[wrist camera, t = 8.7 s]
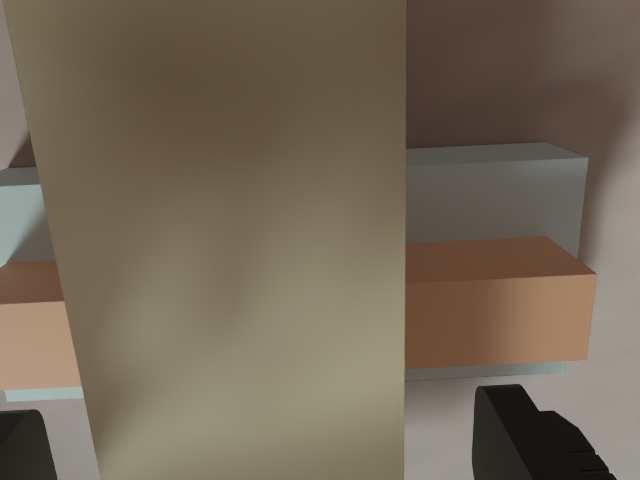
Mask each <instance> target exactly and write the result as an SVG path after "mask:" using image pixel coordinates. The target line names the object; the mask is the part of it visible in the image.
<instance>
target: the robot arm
mask: <svg viewBox="0 0 640 480" xmlns="http://www.w3.org/2000/svg"><path fill="white" fill-rule="evenodd" d="M472 467H473V474H474V479H475V480H617V479H616V478H615V477H614V475H613V474H610V473H609V469H608V467H607V466H606V465H605V463H604V462H603V460H602V459H601V458H600V456H599V455H596V454H595V450H594V448H593V447H592V446H591V444H590V443H589V442H588V440H587V439H586V438H585V436H584V435H583V434H582V432H581V431H580V430H579V428H577V427H576V426H575V425H573V424H572V423H570V422H569V421H567V420H566V419H565V418H563V417H562V416H560V415H559V414H558V413H556V412H555V411H539V410H538V409H537V407H536V406H535V404H534V403H533V401H532V400H531V398H530V397H529V395H528V394H527V392H526V391H525V389H524V388H523V387H522V386H521V385H520V384H510V385H492V386H479V387H477V389H476V393H475V405H474V425H473V444H472ZM0 480H57V475H56V471H55V466H54V462H53V458H52V454H51V450H50V445H49V441H48V437H47V433H46V428H45V424H44V420H43V417H42V415H41V413H40V412H39V411H38V410H35V409H31V410H13V411H0Z"/></svg>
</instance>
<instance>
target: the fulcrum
mask: <svg viewBox="0 0 640 480" xmlns="http://www.w3.org/2000/svg"><path fill="white" fill-rule="evenodd" d="M588 159H589V158H588V157H585V156H583V155H580V154H577V153H574V152H572V151H569V150H566V149H563V148H561V147H558V146H555V145H552V144H550V143H547V142H535V143H514V144H494V145H473V146H453V147H432V148H412V149H406V216H405V370H404V381H414V380H433V379H452V378H471V377H491V376H510V375H529V374H548V373H565V370H566V361H576V360H587V352H588V344H589V336H590V328H591V320H592V311H593V303H594V295H595V287H596V279H597V274H596V273H595V272H594V271H592V270H591V269H590V268H588V267H587V266H586V265H584V264H583V263H582V262H580V261H579V260H578V251H579V242H580V233H581V223H582V214H583V205H584V196H585V187H586V178H587V168H588ZM3 390H4V391H5V395H6V399H7V402H15V401H34V400H53V399H72V398H84V395H83V390H82V385H81V380H80V375H79V370H78V365H77V361H76V356H75V351H74V346H73V341H72V336H71V331H70V327H69V322H68V317H67V312H66V307H65V302H64V297H63V293H62V288H61V283H60V278H59V273H58V268H57V263H56V259H55V254H54V249H53V244H52V239H51V234H50V229H49V225H48V220H47V215H46V210H45V205H44V200H43V195H42V191H41V186H40V181H39V176H38V171H37V167H21V168H6V169H3V170H0V391H3Z"/></svg>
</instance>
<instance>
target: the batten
mask: <svg viewBox="0 0 640 480" xmlns="http://www.w3.org/2000/svg"><path fill="white" fill-rule="evenodd" d="M2 1H3V6H4V11H5V16H6V21H7V26H8V30H9V35H10V40H11V45H12V50H13V55H14V60H15V64H16V69H17V74H18V79H19V84H20V89H21V94H22V98H23V103H24V108H25V113H26V118H27V123H28V127H29V132H30V137H31V142H32V147H33V152H34V157H35V161H36V166H37V171H38V176H39V181H40V186H41V191H42V195H43V200H44V205H45V210H46V215H47V220H48V225H49V229H50V234H51V239H52V244H53V249H54V254H55V259H56V263H57V268H58V273H59V278H60V283H61V288H62V293H63V297H64V302H65V307H66V312H67V317H68V322H69V327H70V331H71V336H72V341H73V346H74V351H75V356H76V361H77V365H78V370H79V375H80V380H81V385H82V390H83V395H84V399H85V404H86V409H87V414H88V419H89V424H90V428H91V433H92V438H93V443H94V448H95V453H96V458H97V462H98V467H99V472H100V477H101V480H404V370H405V216H406V63H407V0H2Z"/></svg>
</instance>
